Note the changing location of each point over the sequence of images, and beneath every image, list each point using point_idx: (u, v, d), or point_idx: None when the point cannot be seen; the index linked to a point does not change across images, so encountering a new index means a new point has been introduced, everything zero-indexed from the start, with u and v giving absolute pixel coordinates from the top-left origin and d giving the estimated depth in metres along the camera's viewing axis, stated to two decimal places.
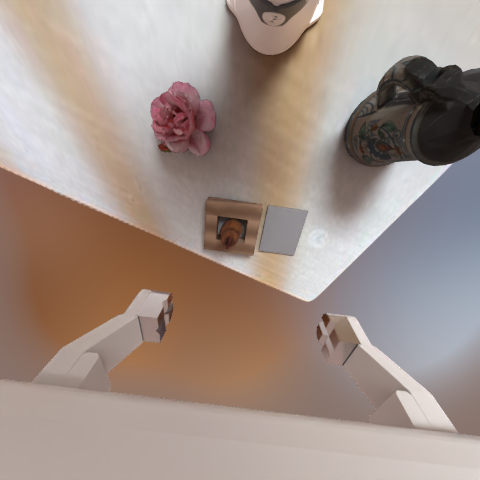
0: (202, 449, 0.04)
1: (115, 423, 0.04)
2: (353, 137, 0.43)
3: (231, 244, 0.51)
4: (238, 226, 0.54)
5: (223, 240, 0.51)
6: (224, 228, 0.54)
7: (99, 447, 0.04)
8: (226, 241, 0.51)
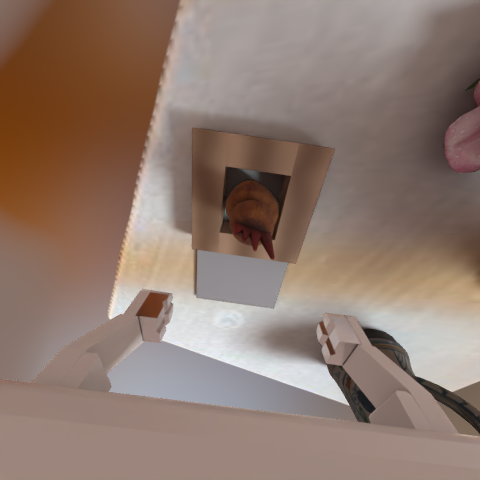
0: (202, 449, 0.04)
1: (115, 423, 0.04)
2: None
3: None
4: None
5: (254, 215, 0.18)
6: (267, 200, 0.22)
7: (99, 447, 0.04)
8: (253, 224, 0.18)
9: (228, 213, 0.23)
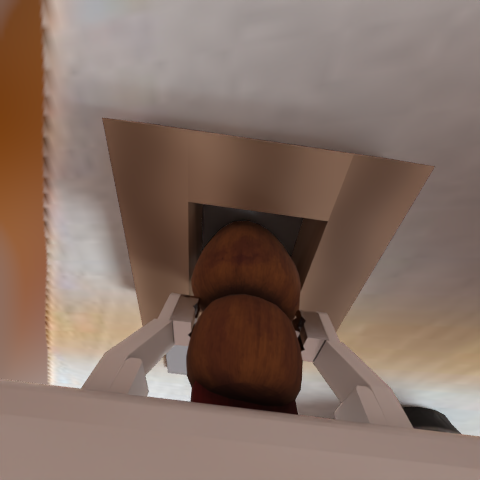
0: (202, 449, 0.04)
1: (115, 423, 0.04)
2: None
3: None
4: None
5: (250, 377, 0.06)
6: (281, 281, 0.10)
7: (99, 447, 0.04)
8: (246, 396, 0.06)
9: None
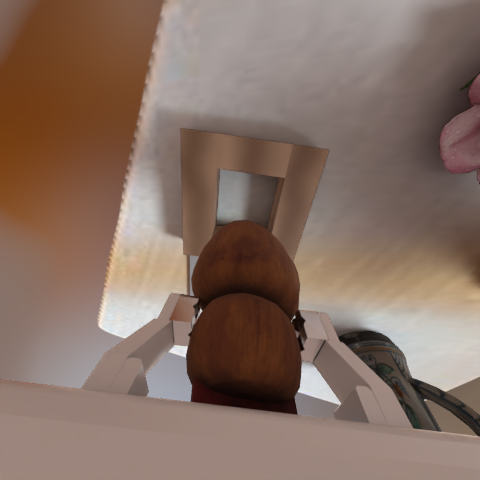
0: (202, 449, 0.04)
1: (115, 423, 0.04)
2: (371, 354, 0.36)
3: None
4: None
5: (250, 375, 0.06)
6: (280, 280, 0.10)
7: (99, 447, 0.04)
8: (246, 393, 0.06)
9: None
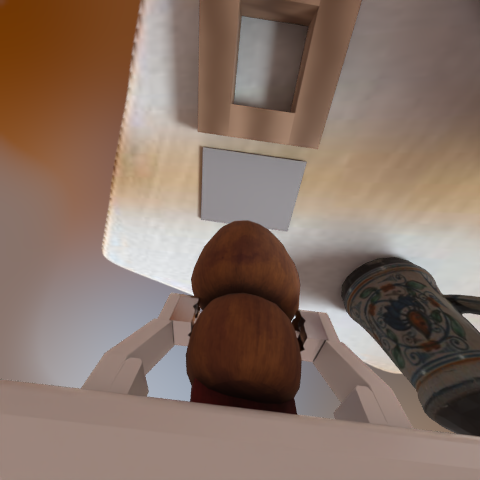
0: (202, 449, 0.04)
1: (115, 423, 0.04)
2: (400, 274, 0.33)
3: None
4: None
5: (250, 375, 0.06)
6: (280, 280, 0.10)
7: (99, 447, 0.04)
8: (246, 393, 0.06)
9: None
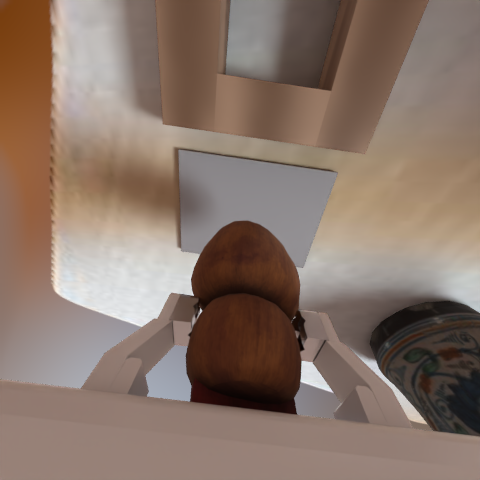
0: (202, 449, 0.04)
1: (115, 423, 0.04)
2: (466, 332, 0.23)
3: None
4: None
5: (250, 375, 0.06)
6: (280, 280, 0.10)
7: (99, 447, 0.04)
8: (246, 394, 0.06)
9: None
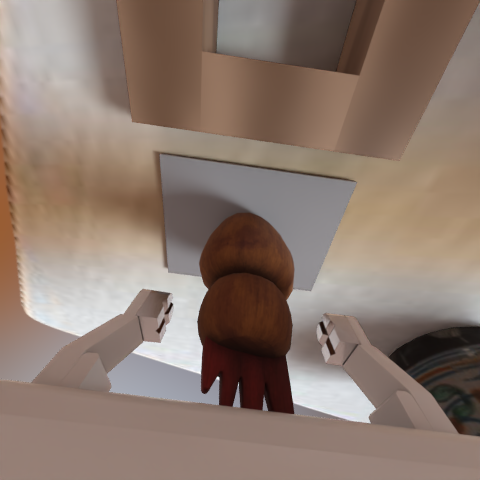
0: (202, 449, 0.04)
1: (115, 423, 0.04)
2: None
3: None
4: None
5: (250, 332, 0.08)
6: (277, 263, 0.11)
7: (99, 447, 0.04)
8: (247, 348, 0.08)
9: (203, 280, 0.13)
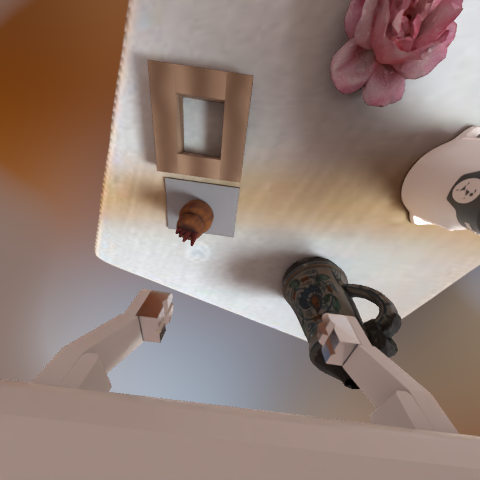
0: (202, 449, 0.04)
1: (115, 423, 0.04)
2: (314, 269, 0.44)
3: None
4: (206, 230, 0.39)
5: (187, 223, 0.33)
6: (202, 213, 0.36)
7: (99, 447, 0.04)
8: (187, 227, 0.33)
9: None
